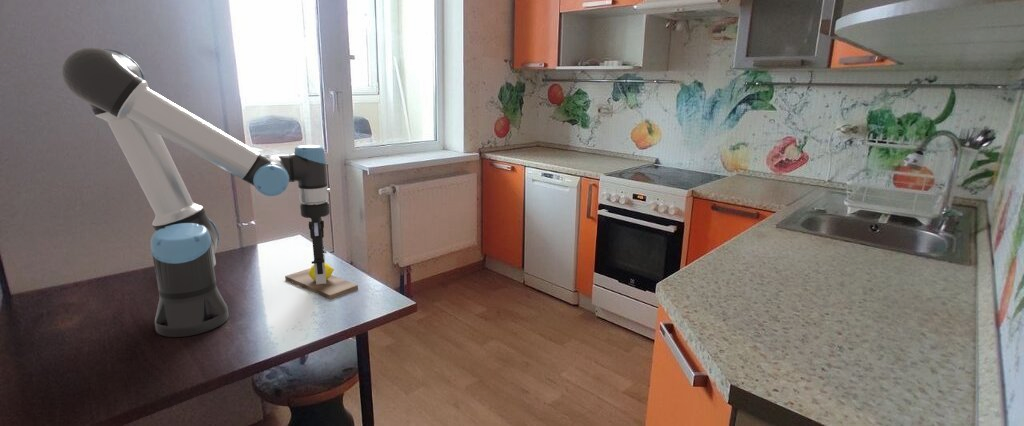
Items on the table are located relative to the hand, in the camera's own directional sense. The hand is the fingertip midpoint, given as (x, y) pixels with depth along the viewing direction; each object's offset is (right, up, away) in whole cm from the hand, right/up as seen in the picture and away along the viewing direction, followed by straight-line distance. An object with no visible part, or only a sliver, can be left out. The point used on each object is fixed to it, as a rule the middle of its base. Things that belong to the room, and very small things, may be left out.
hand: (321, 279), depth 148 cm
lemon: (0, 0, 0) cm, 0 cm away
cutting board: (0, -1, 0) cm, 1 cm away
